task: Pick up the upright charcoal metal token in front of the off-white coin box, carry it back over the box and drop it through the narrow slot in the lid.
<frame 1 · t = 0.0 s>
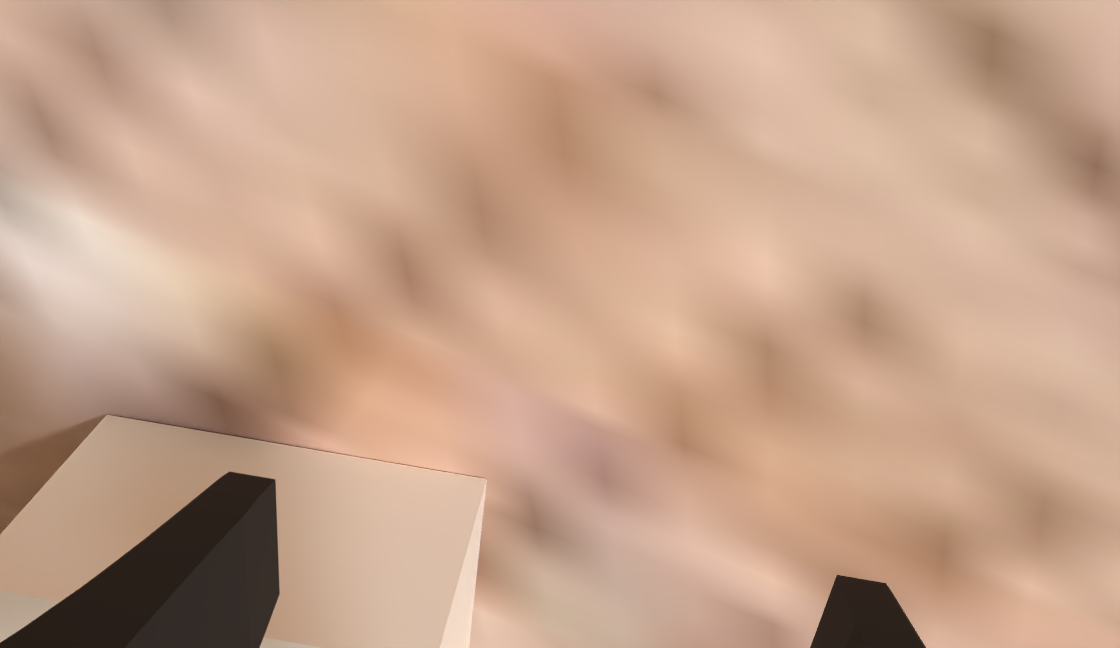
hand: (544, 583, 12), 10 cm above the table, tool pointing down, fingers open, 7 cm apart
coin box: (299, 634, 29), on the table
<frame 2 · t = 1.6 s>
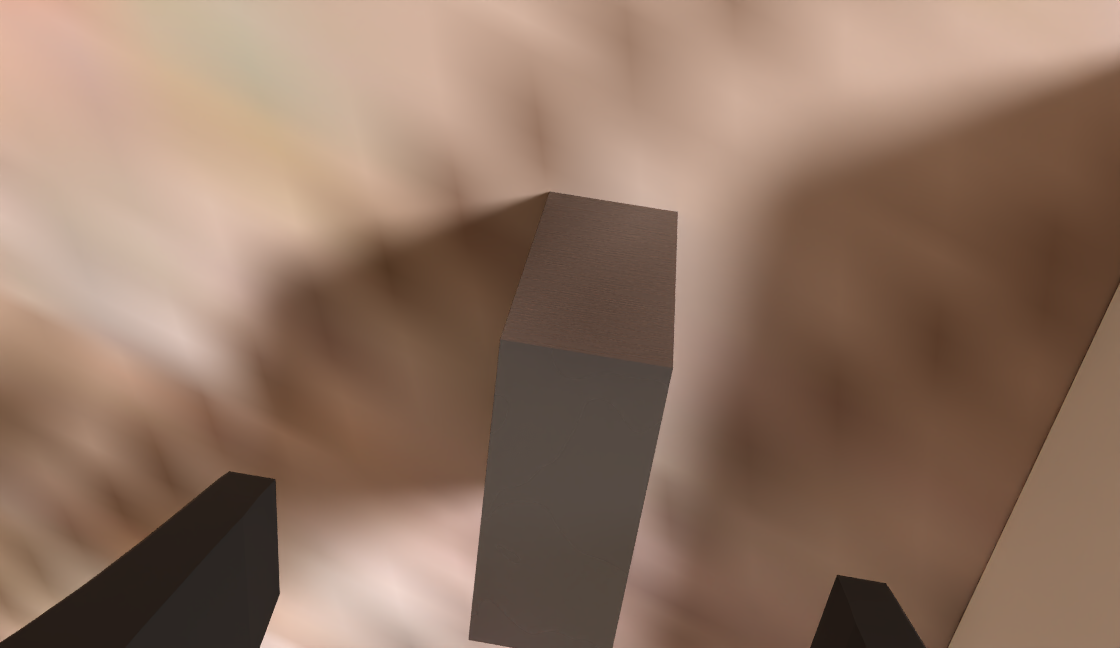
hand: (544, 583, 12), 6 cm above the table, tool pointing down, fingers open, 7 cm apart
token: (591, 337, 18), on the table
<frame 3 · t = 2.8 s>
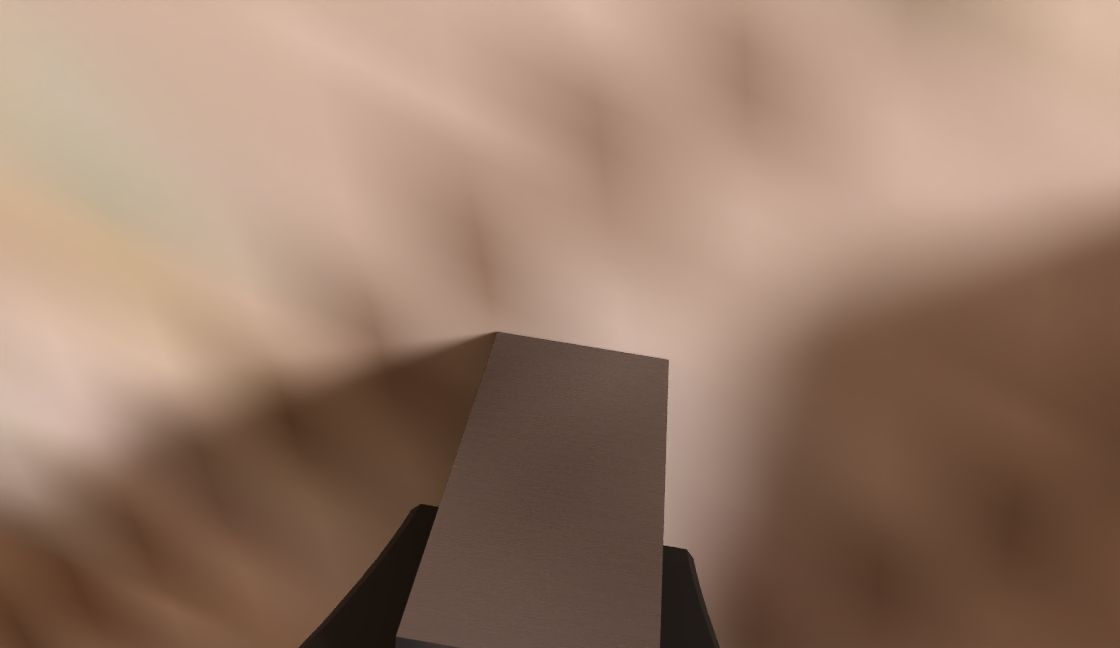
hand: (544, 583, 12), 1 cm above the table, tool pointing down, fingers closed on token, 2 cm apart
token: (556, 509, 14), on the table, touching gripper
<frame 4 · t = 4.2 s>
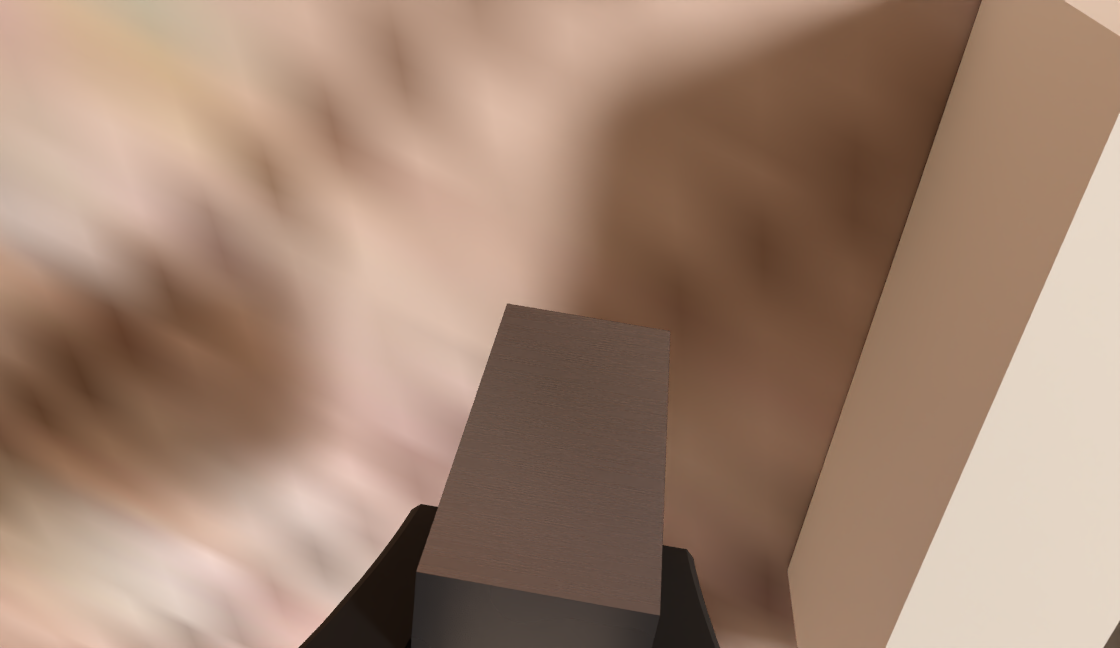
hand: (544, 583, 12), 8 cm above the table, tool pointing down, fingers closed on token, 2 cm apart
token: (562, 476, 14), point 6 cm above the table, touching gripper
when the fingers open (8 cm above the table, at t = 5.4 s): token drops 5 cm, resting in coin box.
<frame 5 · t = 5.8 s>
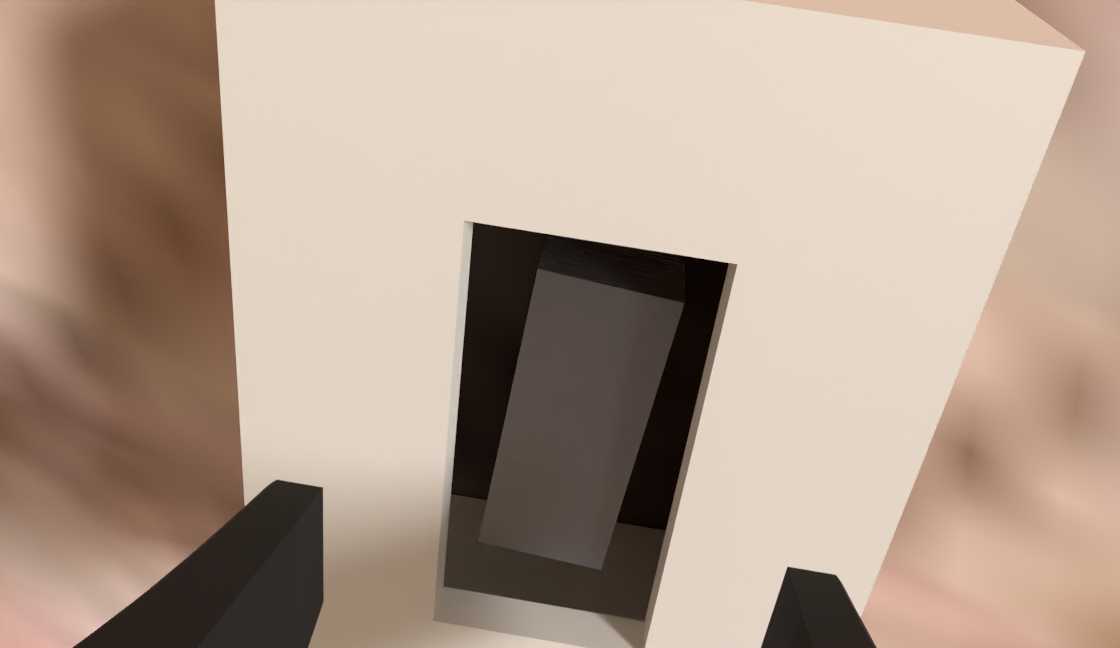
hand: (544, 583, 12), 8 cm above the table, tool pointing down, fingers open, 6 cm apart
token: (596, 287, 20), resting in coin box
coin box: (596, 282, 20), on the table
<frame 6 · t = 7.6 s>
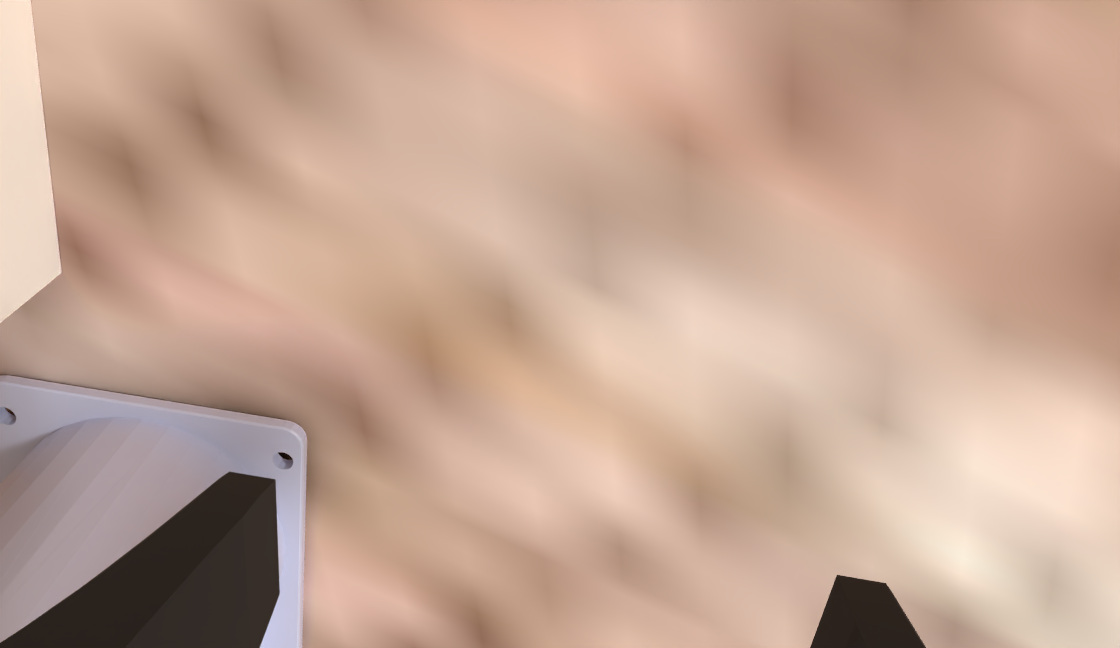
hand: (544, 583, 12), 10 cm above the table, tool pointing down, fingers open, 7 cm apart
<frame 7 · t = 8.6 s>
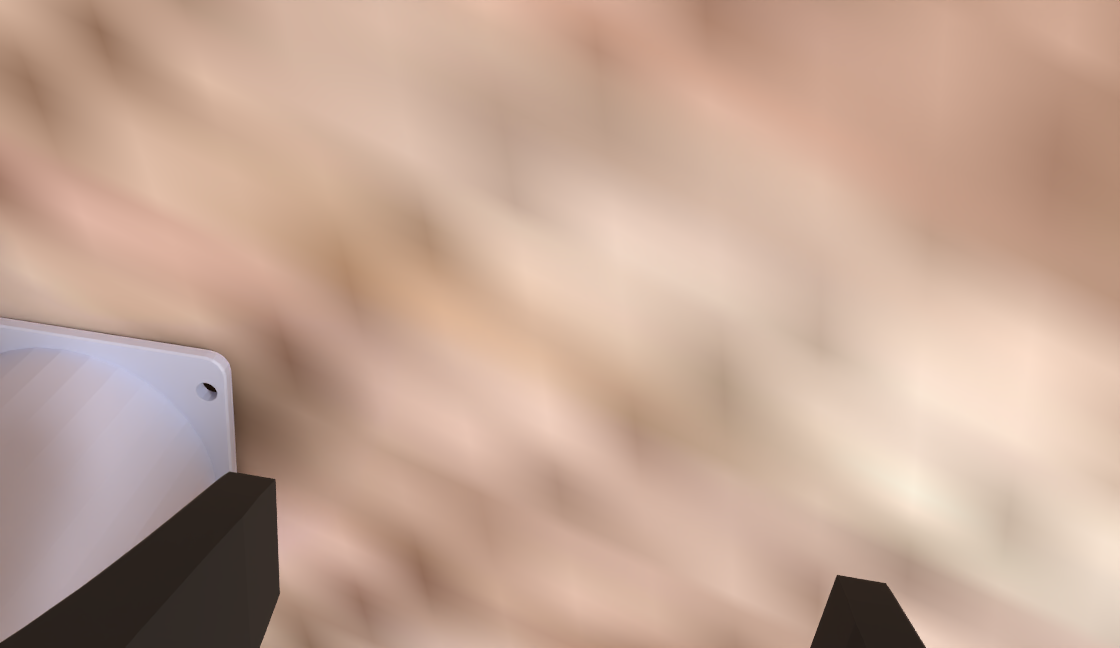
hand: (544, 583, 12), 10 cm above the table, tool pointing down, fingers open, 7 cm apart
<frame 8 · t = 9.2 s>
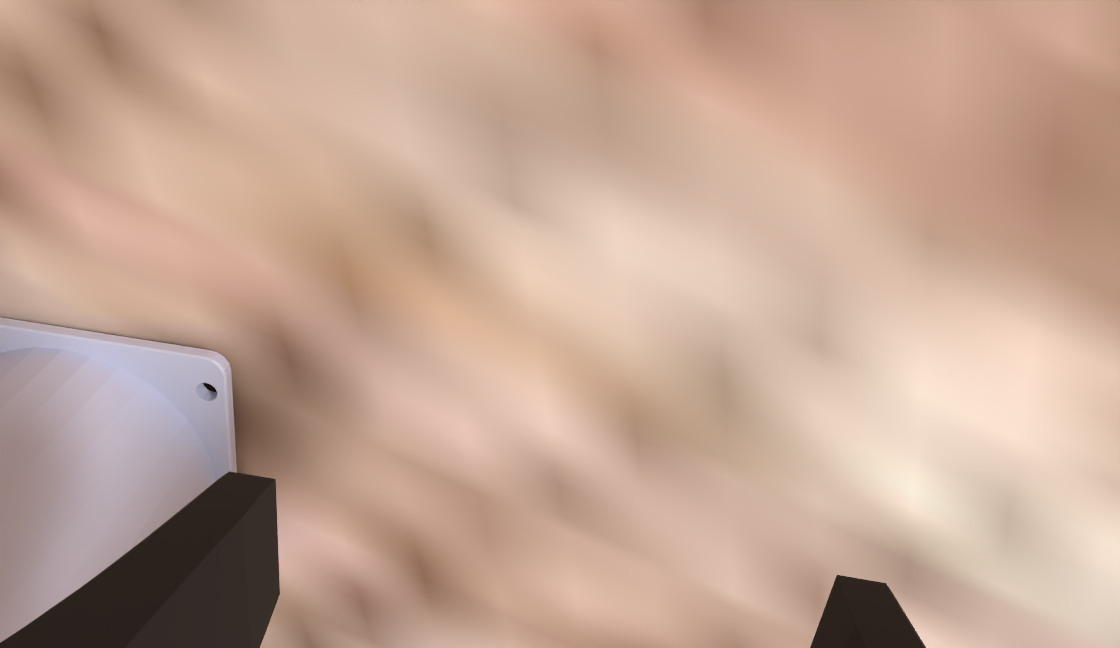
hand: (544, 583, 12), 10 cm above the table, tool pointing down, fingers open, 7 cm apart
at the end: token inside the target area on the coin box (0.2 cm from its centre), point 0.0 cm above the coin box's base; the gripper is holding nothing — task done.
